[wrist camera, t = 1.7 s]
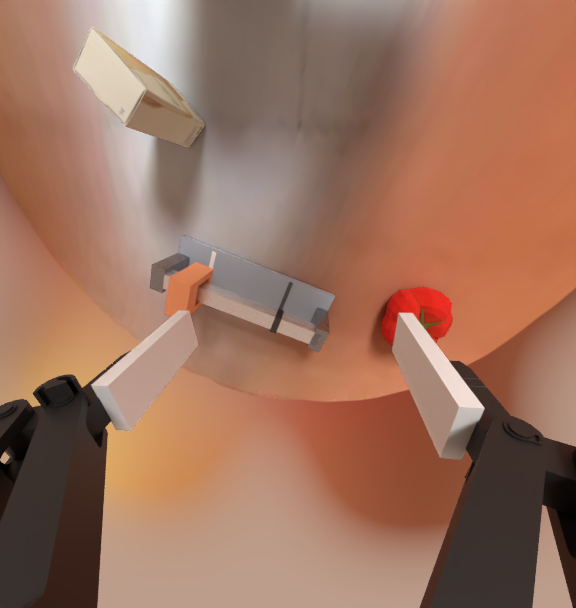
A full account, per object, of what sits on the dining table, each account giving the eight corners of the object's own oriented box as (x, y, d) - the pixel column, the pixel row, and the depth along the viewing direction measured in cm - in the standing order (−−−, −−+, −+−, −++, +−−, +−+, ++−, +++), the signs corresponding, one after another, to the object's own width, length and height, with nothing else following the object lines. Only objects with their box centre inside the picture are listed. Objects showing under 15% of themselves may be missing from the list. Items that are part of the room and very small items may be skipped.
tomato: (372, 332, 44) (380, 354, 38) (389, 277, 39) (402, 293, 33) (425, 340, 43) (442, 363, 37) (450, 285, 38) (473, 302, 32)
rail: (175, 273, 42) (148, 288, 35) (178, 252, 40) (151, 265, 34) (318, 328, 43) (318, 353, 37) (327, 311, 42) (329, 333, 35)
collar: (190, 293, 40) (164, 314, 33) (196, 262, 37) (169, 277, 31) (206, 299, 40) (184, 321, 34) (213, 268, 37) (190, 285, 31)
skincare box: (207, 124, 32) (150, 91, 22) (188, 149, 34) (127, 130, 23) (170, 80, 31) (89, 20, 20) (153, 109, 32) (69, 68, 22)
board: (176, 285, 44) (173, 287, 43) (184, 235, 40) (180, 236, 39) (312, 337, 46) (312, 340, 45) (334, 294, 41) (335, 297, 40)
